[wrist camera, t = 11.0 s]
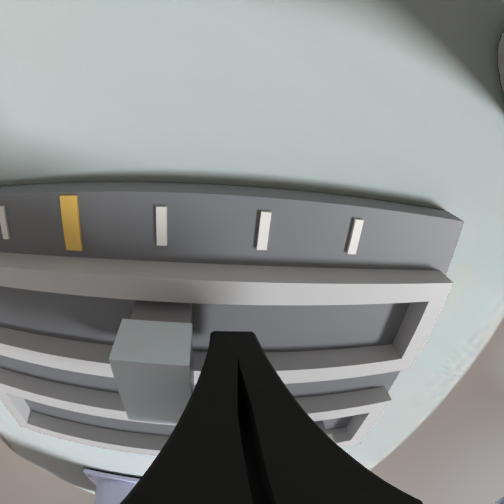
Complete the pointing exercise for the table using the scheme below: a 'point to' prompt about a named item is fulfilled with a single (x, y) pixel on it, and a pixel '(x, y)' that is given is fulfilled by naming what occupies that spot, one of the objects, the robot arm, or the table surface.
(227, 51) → the table surface
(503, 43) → the coffee cup
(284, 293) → the console
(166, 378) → the fader
